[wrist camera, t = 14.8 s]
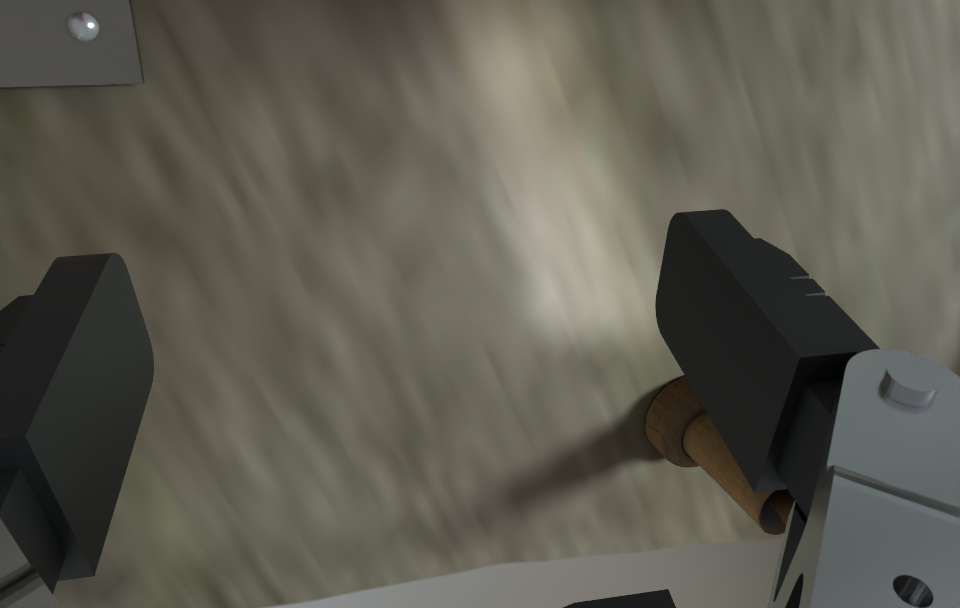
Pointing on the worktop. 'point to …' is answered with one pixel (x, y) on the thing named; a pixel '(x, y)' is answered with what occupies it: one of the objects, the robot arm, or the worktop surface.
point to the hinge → (68, 43)
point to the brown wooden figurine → (709, 453)
